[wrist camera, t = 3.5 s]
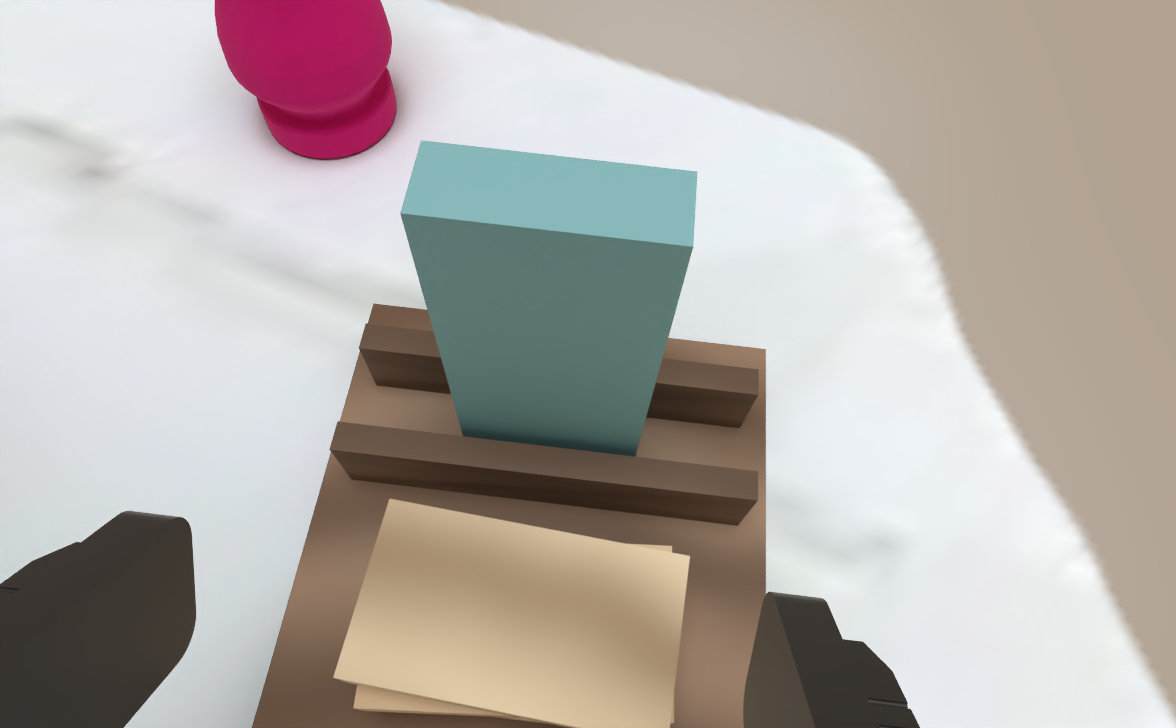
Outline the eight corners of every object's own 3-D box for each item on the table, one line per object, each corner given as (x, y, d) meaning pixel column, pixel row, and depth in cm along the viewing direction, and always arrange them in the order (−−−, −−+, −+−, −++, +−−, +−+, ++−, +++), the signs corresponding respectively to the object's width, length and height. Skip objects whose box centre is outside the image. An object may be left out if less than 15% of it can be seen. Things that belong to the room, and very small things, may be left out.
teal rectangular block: (630, 475, 28) (693, 246, 15) (468, 456, 28) (400, 213, 15) (634, 425, 29) (697, 171, 16) (478, 406, 29) (421, 140, 16)
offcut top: (660, 746, 21) (667, 745, 20) (346, 682, 21) (332, 677, 20) (682, 567, 23) (690, 555, 22) (398, 513, 24) (389, 498, 22)
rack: (753, 839, 24) (793, 855, 20) (254, 776, 24) (195, 780, 20) (756, 366, 32) (785, 310, 28) (381, 322, 32) (356, 260, 28)
